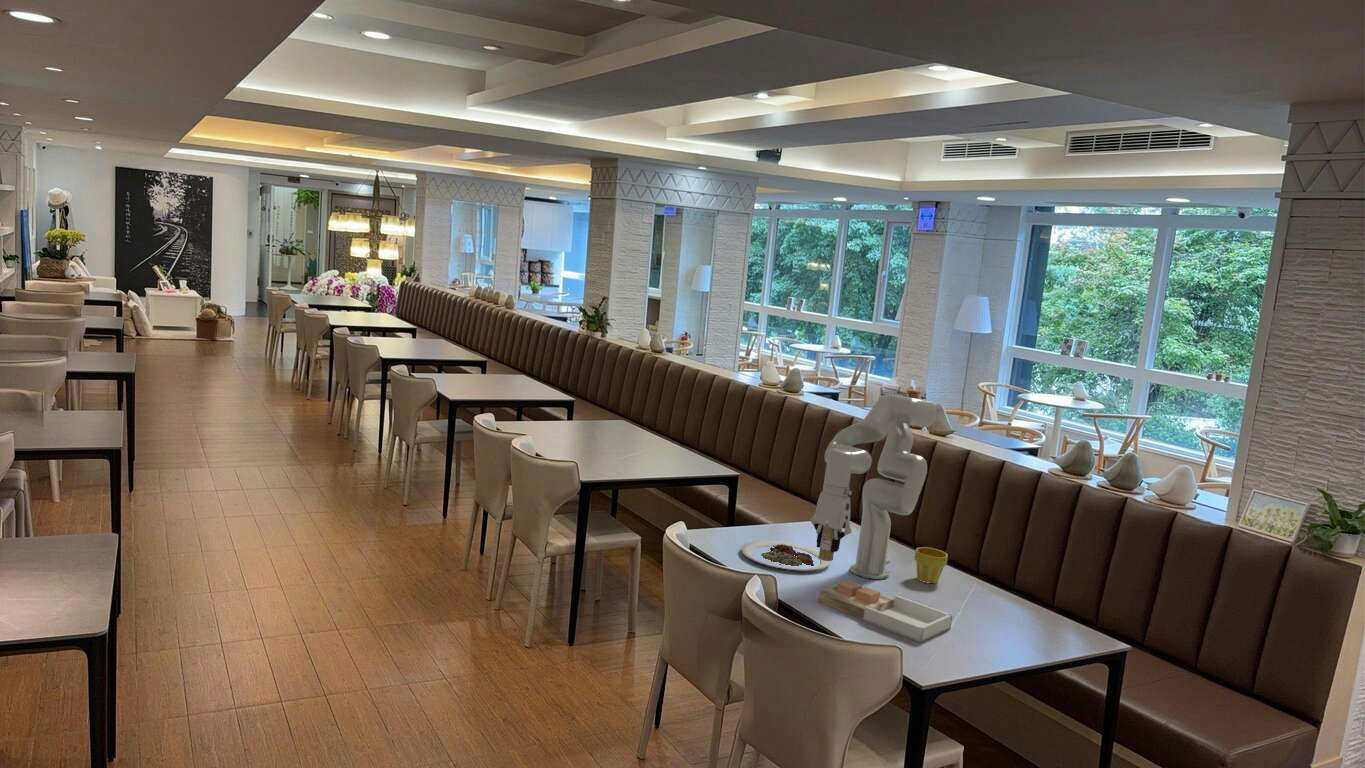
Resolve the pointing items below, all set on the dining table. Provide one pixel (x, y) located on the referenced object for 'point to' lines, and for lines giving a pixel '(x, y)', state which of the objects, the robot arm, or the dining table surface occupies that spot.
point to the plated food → (785, 554)
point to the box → (910, 619)
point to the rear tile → (848, 588)
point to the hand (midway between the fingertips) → (827, 548)
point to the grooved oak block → (852, 602)
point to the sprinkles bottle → (826, 543)
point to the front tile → (867, 595)
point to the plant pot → (930, 563)
